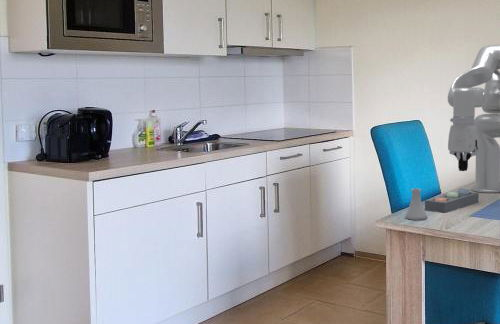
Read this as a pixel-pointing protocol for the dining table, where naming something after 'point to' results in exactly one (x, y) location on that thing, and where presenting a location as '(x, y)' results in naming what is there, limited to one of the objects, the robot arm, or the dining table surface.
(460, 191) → the slate button
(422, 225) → the dining table surface
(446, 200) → the terracotta button
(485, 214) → the dining table surface
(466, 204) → the console
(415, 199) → the flask
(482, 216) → the dining table surface
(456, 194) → the sage button
